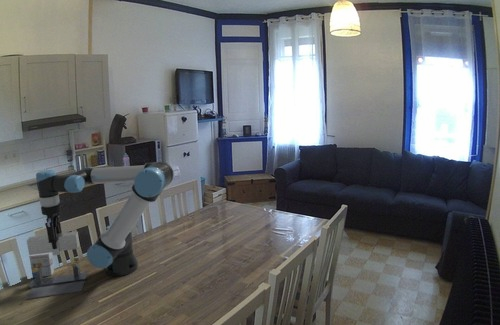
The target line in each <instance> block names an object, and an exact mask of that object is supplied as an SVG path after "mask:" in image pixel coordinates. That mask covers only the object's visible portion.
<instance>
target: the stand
mask: <svg viewBox="0 0 500 325" xmlns="http://www.w3.org/2000/svg"><path fill="white" fill-rule="evenodd" d="M73 261H74V262H71V264H70V266H71V268H72V273H73V274H67V275H60V276H59V275H58V276H49V277H44V278H43V276H42V270H41V267H36V268H33V269H32V270H31V272H32V271H33V272H34V273H35V278H34V279H32V280H31V281H30V283H29V284H28V285H27V289H28V290H31V289H32V288H39V287H46V286H53V285H60V284H67V283H74V282H81V281H85V282H86V280H87V277H88V273H89V272H81V271H80V264H79V262H80V257H78V256H77V257H73ZM36 264H37V266H42V262H37V263H36Z"/></svg>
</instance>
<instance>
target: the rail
mask: <svg viewBox="0 0 500 325" xmlns="http://www.w3.org/2000/svg"><path fill="white" fill-rule="evenodd" d="M57 241H58V244H59V250H60V252H62V251H63V252H64V251H71V250H78V249H79V248H80V239H79V232H78V231H69V232H62V233H59V234H57ZM26 244H27V250H28V251H27V252H28V255H29V256H30V255H34V254H41V253H49V252H52V246H51V243H49V240H48V234H44V235H34V236H29V237H28V239H27V240H26ZM52 253H53V252H52Z"/></svg>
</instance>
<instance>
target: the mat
mask: <svg viewBox="0 0 500 325" xmlns="http://www.w3.org/2000/svg"><path fill="white" fill-rule="evenodd" d="M85 282H86V280H85V281H80V282H73V283H66V284H59V285H52V286H45V287H38V288H31V289H30V291H29V293H28V295H27V296H26V297H25V300H26V301H27V300H33V299H40V298H48V297H53V296H59V295H60V296H61V295H67V294H74V293H78V292H79V293H80V292H82V291H83V288H84V286H85Z"/></svg>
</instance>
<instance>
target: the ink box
mask: <svg viewBox="0 0 500 325" xmlns="http://www.w3.org/2000/svg"><path fill="white" fill-rule="evenodd" d="M28 257H29V262H30V269H31V275H32V278H33V279H35V278H34V277H35V273H34V272H33V271H32V269H33V268H36V267H41V270H42V276H43V277H44V278H45V277H52V275H53V274H54V272H55V265H54V259H53V252H49V253H41V254H34V255H29V256H28ZM37 262H42V266H37V264H36V263H37Z"/></svg>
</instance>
